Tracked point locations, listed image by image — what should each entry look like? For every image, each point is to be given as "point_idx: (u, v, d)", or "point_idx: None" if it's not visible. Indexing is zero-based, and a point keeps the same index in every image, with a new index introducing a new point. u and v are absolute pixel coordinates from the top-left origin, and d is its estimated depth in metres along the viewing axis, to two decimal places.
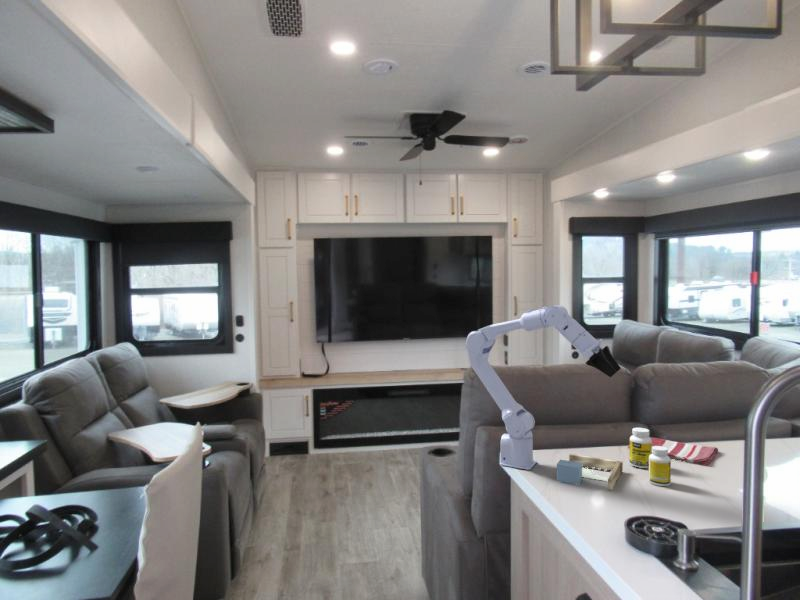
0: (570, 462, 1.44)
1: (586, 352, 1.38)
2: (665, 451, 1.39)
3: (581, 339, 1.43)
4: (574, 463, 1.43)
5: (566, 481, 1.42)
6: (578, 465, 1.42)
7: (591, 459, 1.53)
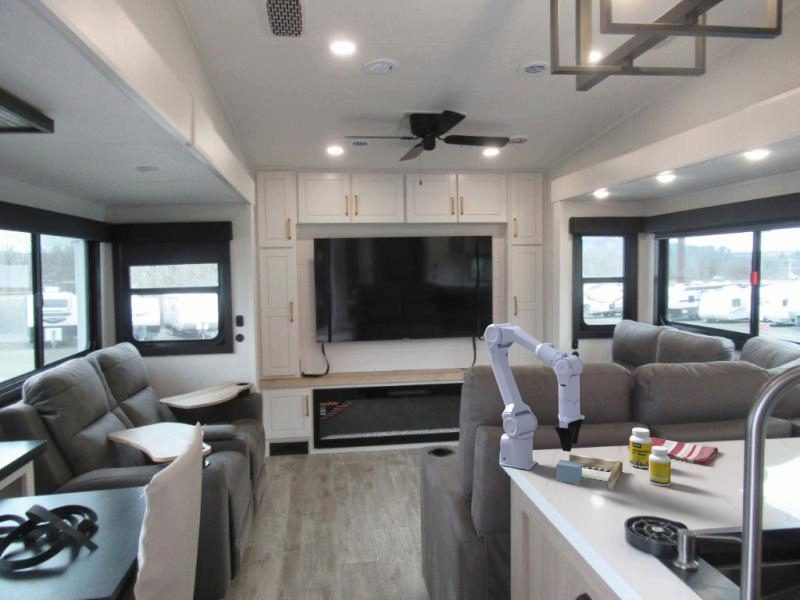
0: (570, 462, 1.44)
1: (563, 422, 1.37)
2: (665, 451, 1.39)
3: (569, 404, 1.40)
4: (574, 463, 1.43)
5: (566, 481, 1.42)
6: (578, 465, 1.42)
7: (591, 459, 1.53)
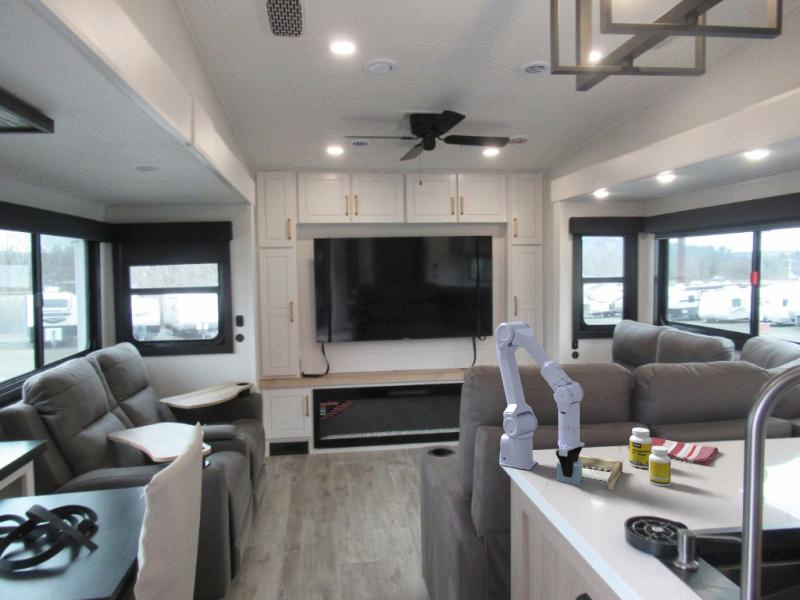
0: None
1: (562, 450, 1.37)
2: (665, 451, 1.39)
3: (568, 432, 1.41)
4: (574, 463, 1.43)
5: (566, 481, 1.42)
6: (578, 465, 1.42)
7: (591, 459, 1.53)
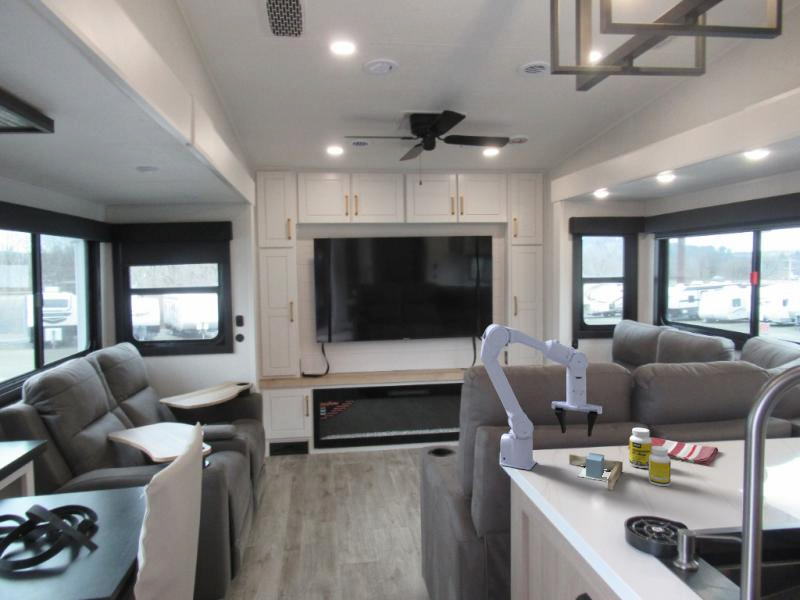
0: (598, 457, 1.47)
1: None
2: (665, 451, 1.39)
3: (567, 393, 1.56)
4: (596, 458, 1.46)
5: None
6: (592, 459, 1.46)
7: None
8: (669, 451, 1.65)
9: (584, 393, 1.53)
